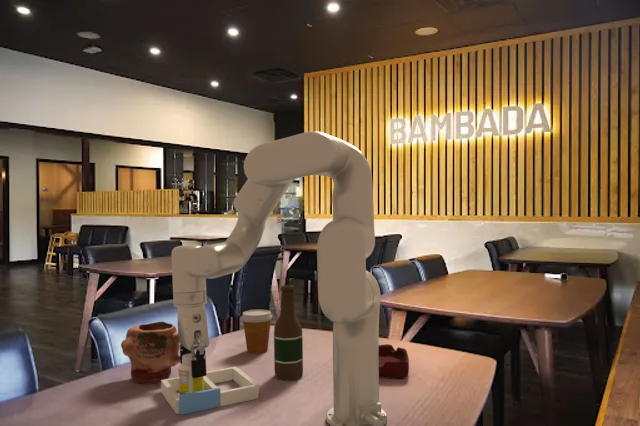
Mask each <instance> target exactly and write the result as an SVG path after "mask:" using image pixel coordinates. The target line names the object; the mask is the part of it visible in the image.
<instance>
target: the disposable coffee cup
mask: <svg viewBox="0 0 640 426" xmlns="http://www.w3.org/2000/svg"><path fill="white" fill-rule="evenodd" d="M272 318H273V314H272V312H271V311H270V310H267V309H249V310H246V311H243V312H242V315H241V319H242V323H243V329H244V330H243V331H244V336H245V337H244V338H245V345H246V352H247V353H249V354H251V355H252V354H254V355H256V354H258V355H260V354H264V353H267V352H268V350H269V341H270V330H271V322H272Z"/></svg>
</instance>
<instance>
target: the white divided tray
mask: <svg viewBox="0 0 640 426" xmlns="http://www.w3.org/2000/svg"><path fill="white" fill-rule="evenodd" d="M203 380H204V390H203V391H198V392H193V393H188V394H183V395H179V394H178V392H179V376H176V377H171V378H170V377H169V378H167V379H164V380H161V382H160V392H161V394H162V396H163V397H164V398H165V400H166V401H167V403H168V404H169V405H170V407H171V408H172V410H173V411H174V412H175V414H176V415H179V416H182V415H186V414H192V413H196V412H201V411H202V412H203V411H206V410H210V409H215V408H220V407H224V406H225V407H226V406H229V405H233V404H238V403H243V402H247V401H252V400H257V399H258V397H259V383H258V382H257V381H255V380H254V379H253V378H252V377H250V376H249V375H248V374H247V373H245V372H243V370H241V369H239V368H238V367H237V366H232V367H226V368H221V369H216V370H210V371H206V376H203ZM229 381H234V382H235V383H236V384H237V385H238V386H239V387H236V388H231V389H226V390H221V388H220V387H218V386H217V385H216V384H219V383H224V382H229ZM177 391H178V392H177Z"/></svg>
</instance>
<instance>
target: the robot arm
mask: <svg viewBox="0 0 640 426" xmlns="http://www.w3.org/2000/svg"><path fill="white" fill-rule="evenodd" d="M243 170H244V171H243V172H244V174H245V176H246V178H247V180H246V181H245V183H244V184H243V185H242V187H241V189H240V190H239V191H238V193H237V195H236V197H234V199H233V207H234V209H235V211H236V212H237V221H236V224H235V225H234V228H233V229H232V231H231V233H230V234H229V236H228V237H227V239H225V242H220V243H215V244H208V245H203V246H202V245H199V244H187V245H178V246H176V247H173V249H172V251H171V273H172V274H171V275H172V276H171V277H172V295H173V297H172V298H173V307H174V308H177V311H176V312H177V333H178V339H179V342H180V348H179V353H180V354H179V356H180V363H179V364H182V356H183V355H185V354H190V353H191V354H192V359H193V360H191V369H192V378H198V377H203V376H206V372H207V360H206V359H207V356H206V352H207V351H206V348H208V347H209V345H210V337H209V327H208V318H207V310H206V307H205V305H207V303H208V301H207V299H208V298H207V279H210V280H211V279H217V278H221V277H224V276H227V275H230V274H234V273H237V272H239V271H240V270H241V269H242V268H243V267H245V265H246V264H247V262H248V261H249V259H250V258H251V256H252V255H253V254H254V253H255V251H256V249H257V248H258V246H259V244H260V242H261V240H262V237H263V234H264V231H265V229H266V228H265V227H266V222H267V220H268V219H269V217H270V216H271V214H272V213H273V211H274V209H275V208H276V207H277V205H278V204H279V202H280V201H281V199H282V198H283V196H284V195H285V194H286V193H287V191H288V189H289V187H290V186H291V185H292V183H293V181H294V180H295V179H296V180H297V179H299V178H303V177H309V176H314V175H315V176H320V177H321V176H322V177H323V176H324V177H329V178H331V180H332V181H333V187H332V197H331V198H332V200H331V201H332V202H331V204H332V220H331V221H329V222H328V223H327V224H325V226H324V227H323V228H322V229H321V231H320V234H319V235H318V236H319V237H318V240H317V244H316V245H317V246H316V258H317V259H316V261H317V262H316V263H317V265H316V268H317V294H318V295H317V296H318V303H319V306H320V310H321V311H322V313H323V314H324V316H325V317H326V318H327V319H328V320H329V321H330V322H332V324H333V326H332V327H333V328H332V374H333V375H332V376H333V377H332V378H333V379H332V380H333V382H332V384H333V387H332V388H333V389H332V390H333V406H332V407H330V408H329V410H328V411H327V412H326V415H325V416H326V417H325V419H326V422H327V424H329V425H330V426H385V425H386V424H387V421H388V416H387V413H386V411H385V410H384V409H383V408H382V403H381V402H380V377H379V347H378V346H379V345H380V342H379V341H380V339H379V332H380V331H379V326H380V325H379V324H380V310H381V307H380V306H381V289H380V285H379V283H378V281H377V278H376V277H375V276H374V275H373V274H372V273H371V272H370V271H368V270H367V267H366V266H367V263H366V262H367V261H366V260H367V259H368V258H369V257H370V256H371V255H372V254H373V251H374V248H375V247H376V235H375V231H376V230H375V212H374V211H375V210H374V207H375V206H374V191H373V190H374V189H373V176H372V170H371V166H370V164H369V160H368V159H367V157H366V156H365V155H364V154H363V152H362V151H361V150H360V149H359V148H357V147H356V146H355V145H352V143H349V142H347V141H345V140H343V139H341V138H338V137H336V136H333V135H330V134H327V133H325V132H321V131H317V130H316V131H306V132H302V133H298V134H294V135H291V136H287V137H283V138H280V139H275V140H271V141H269V142H264V143H260V144H259V145H256V146H255V147H253V148H252V149H250V151H249V152H248V153H247V154H246V157H245V158H244V163H243ZM195 353H196V354H195Z"/></svg>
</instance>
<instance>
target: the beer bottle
mask: <svg viewBox="0 0 640 426" xmlns="http://www.w3.org/2000/svg"><path fill="white" fill-rule="evenodd" d="M280 290H281V296H280V297H281V298H280V314H279V316H278V318H277V320H276V321H275V324H274V326H273V327H274V328H273V349H274V350H273V351H274V352H273V353H274V356H273V363H274V367H273V368H274V375H275V378H276V379H277V380H281V381H284V382H286V381H287V382H288V381H297V380H298V379H301V378H303V376H304V375H303V372H304V360H303V359H304V356H303V355H304V353H303V351H304V349H303V346H304V345H303V342H304V341H303V327H302V324H301V322H300V321H299V319H298V317H297V315H296V310H295V308H296V307H295V299H294V298H295V297H294V291H295V286H294V285H292V284H283V285H281V286H280Z"/></svg>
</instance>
